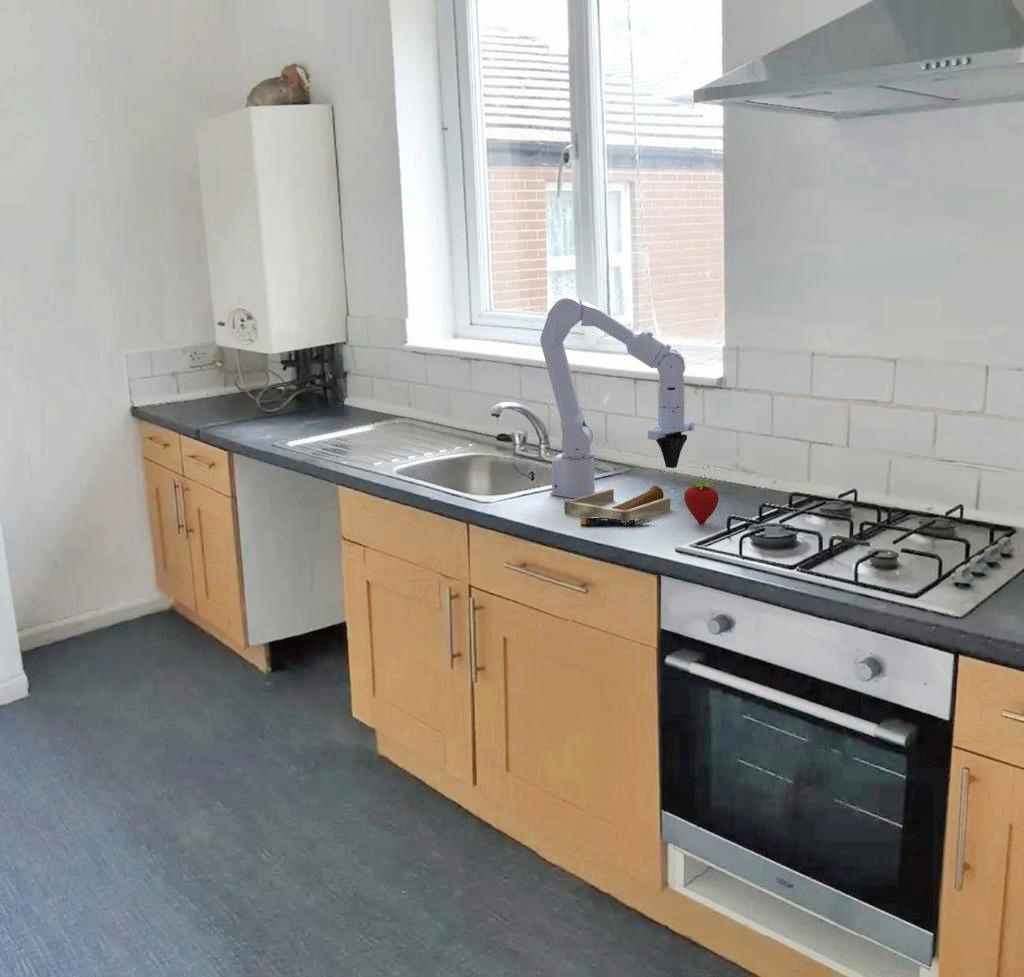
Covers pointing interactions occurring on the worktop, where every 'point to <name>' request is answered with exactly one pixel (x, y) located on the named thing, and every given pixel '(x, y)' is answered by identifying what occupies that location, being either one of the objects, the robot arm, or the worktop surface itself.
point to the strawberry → (701, 500)
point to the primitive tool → (642, 499)
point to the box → (589, 508)
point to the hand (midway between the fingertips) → (671, 467)
